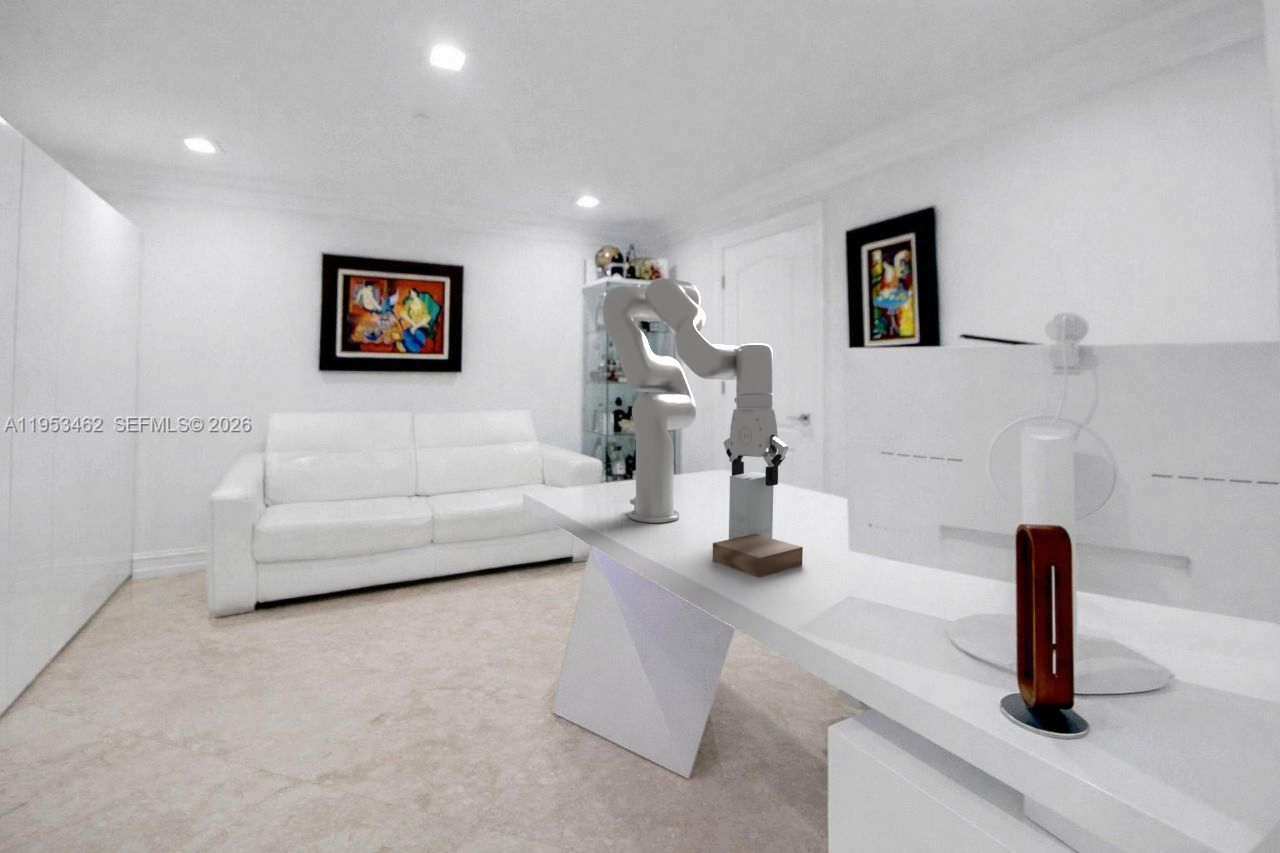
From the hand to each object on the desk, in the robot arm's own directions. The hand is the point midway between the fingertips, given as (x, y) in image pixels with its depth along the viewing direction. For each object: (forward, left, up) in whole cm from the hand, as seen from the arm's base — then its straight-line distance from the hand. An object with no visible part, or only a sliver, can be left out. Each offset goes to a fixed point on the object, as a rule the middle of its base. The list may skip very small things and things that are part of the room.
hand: (754, 482), depth 129 cm
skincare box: (-1, 0, -13) cm, 13 cm away
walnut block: (+10, -10, -13) cm, 20 cm away
